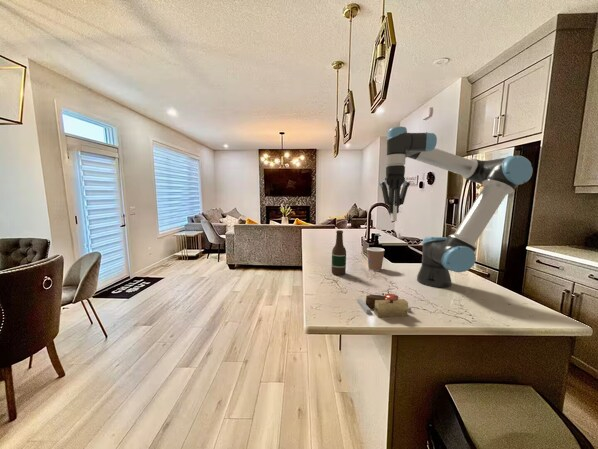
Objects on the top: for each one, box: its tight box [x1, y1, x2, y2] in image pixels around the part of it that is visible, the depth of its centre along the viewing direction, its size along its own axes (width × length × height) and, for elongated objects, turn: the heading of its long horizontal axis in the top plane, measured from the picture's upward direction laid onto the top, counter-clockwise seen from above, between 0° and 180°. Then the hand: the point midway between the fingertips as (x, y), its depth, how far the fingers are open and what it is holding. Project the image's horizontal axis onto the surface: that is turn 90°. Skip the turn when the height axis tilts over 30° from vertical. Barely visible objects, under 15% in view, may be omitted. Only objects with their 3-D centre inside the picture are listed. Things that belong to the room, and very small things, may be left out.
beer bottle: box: [331, 229, 347, 276], centre depth 137 cm, size 8×8×24 cm
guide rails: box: [356, 297, 412, 315], centre depth 96 cm, size 17×10×2 cm, turn 96°
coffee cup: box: [366, 247, 386, 272], centre depth 147 cm, size 10×10×12 cm
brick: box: [365, 294, 388, 310], centre depth 95 cm, size 11×4×5 cm, turn 69°
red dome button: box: [374, 293, 409, 318], centre depth 89 cm, size 11×4×7 cm, turn 96°
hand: (393, 220), depth 108 cm, fingers closed
